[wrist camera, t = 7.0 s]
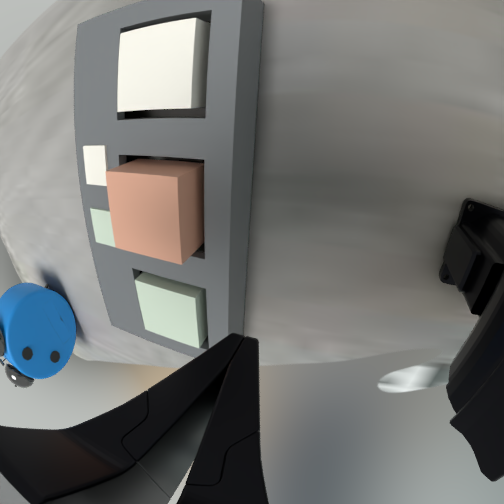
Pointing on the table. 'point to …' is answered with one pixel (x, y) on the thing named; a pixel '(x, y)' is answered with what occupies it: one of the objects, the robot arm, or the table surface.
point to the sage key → (173, 308)
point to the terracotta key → (157, 208)
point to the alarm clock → (35, 333)
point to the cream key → (164, 66)
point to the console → (173, 145)
